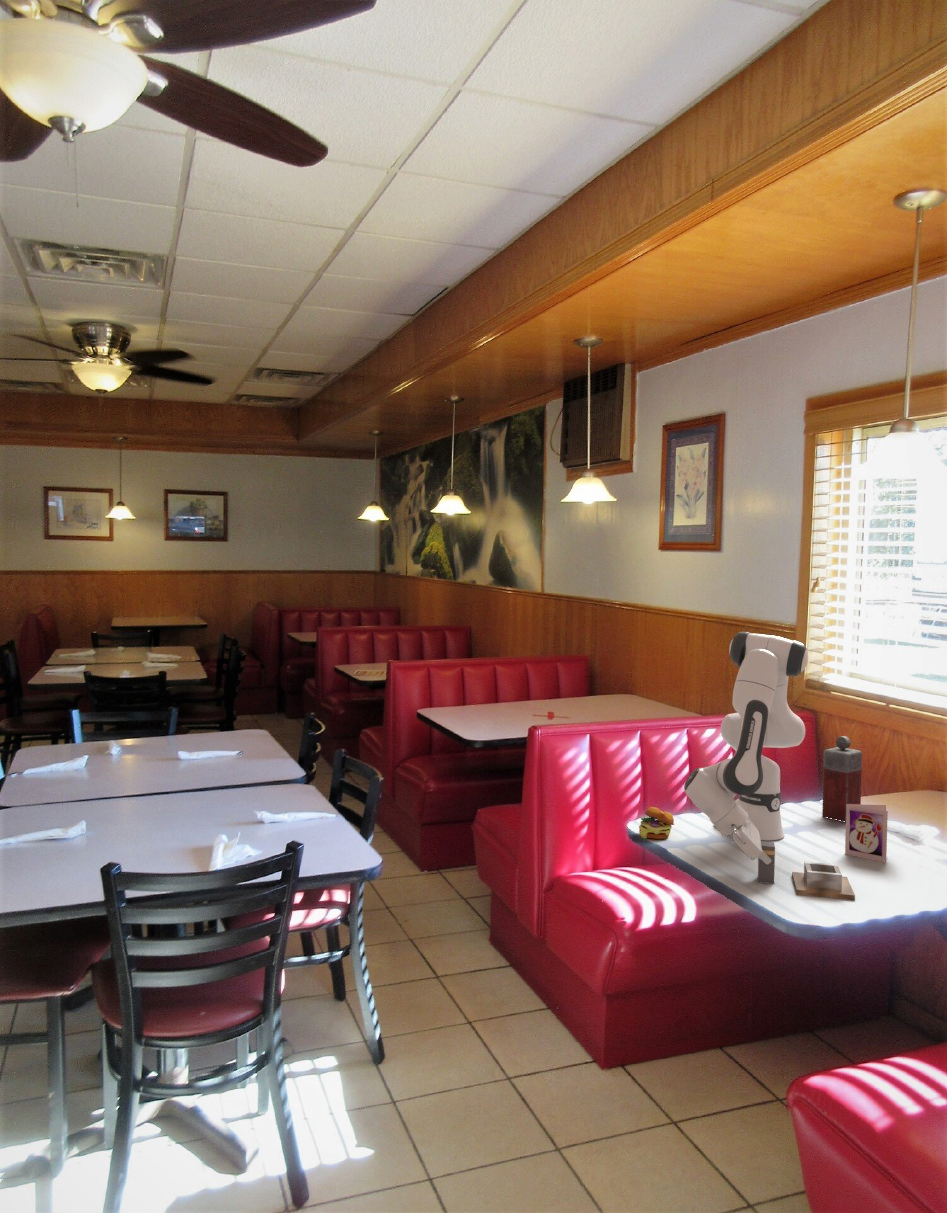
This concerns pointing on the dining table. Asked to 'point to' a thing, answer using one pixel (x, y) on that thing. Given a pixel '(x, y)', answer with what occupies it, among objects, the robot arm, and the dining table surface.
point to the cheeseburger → (656, 824)
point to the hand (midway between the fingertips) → (768, 859)
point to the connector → (763, 869)
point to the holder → (822, 881)
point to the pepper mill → (841, 779)
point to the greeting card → (866, 831)
